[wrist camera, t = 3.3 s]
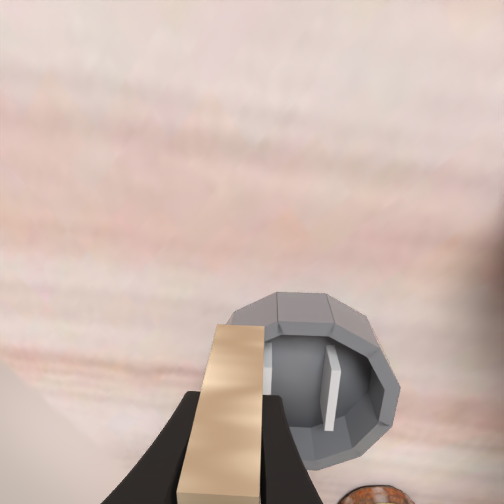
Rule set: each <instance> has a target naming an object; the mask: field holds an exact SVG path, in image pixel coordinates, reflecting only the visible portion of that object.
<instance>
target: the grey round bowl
mask: <svg viewBox="0 0 504 504" xmlns="http://www.w3.org/2000/svg"><path fill="white" fill-rule="evenodd" d="M226 325H246V326H265V327H264V362H263V395H279V396H280V397H281V398H282V402H283V407H284V411H285V415H286V419H287V422H288V425H289V428H290V431H291V434H292V437H293V439H294V442H295V444H296V447H297V450H298V452H299V455H300V457H301V459H302V462H303V464H304V466H305V468H306V470H320V469H323V468H326V467H329V466H333V465H336V464H339V463H342V462H345V461H348V460H351V459H354V458H357V457H360V456H362V455H363V454H364V453H365V452H366V451H367V450H368V449H369V448H370V447H371V446H372V445H373V444H374V443H375V442H377V441H378V440H379V439H380V438H381V437H382V436H383V435H384V434H385V433H386V432H387V431H388V430H389V429H390V428H391V427H392V425H393V420H394V416H395V411H396V406H397V402H398V397H399V393H400V385H399V383H398V381H397V379H396V376H395V374H394V372H393V370H392V368H391V366H390V363H389V361H388V359H387V357H386V355H385V353H384V351H383V349H382V347H381V345H380V343H379V341H378V339H377V337H376V335H375V333H374V331H373V329H372V327H371V325H370V323H369V321H368V319H367V318H366V316H364V315H362V314H361V313H359V312H357V311H355V310H354V309H352V308H350V307H348V306H347V305H345V304H343V303H341V302H340V301H338V300H336V299H334V298H333V297H331V296H329V295H327V294H317V293H287V292H276V293H274V294H272V295H269V296H267V297H265V298H263V299H261V300H259V301H257V302H254V303H252V304H250V305H248V306H246V307H244V308H241V309H239V310H237V311H235V312H234V313H233V315H232V316H231V318H230V319H229V321H228V322H227V324H226ZM205 373H206V372H205ZM204 377H205V376H204Z"/></svg>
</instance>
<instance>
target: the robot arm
mask: <svg viewBox="0 0 504 504" xmlns="http://www.w3.org/2000/svg"><path fill="white" fill-rule="evenodd" d="M200 393H201V392H196V391H188V392H187V393H185V395H184V397H183V399H182V400H181V402H180V404H179V405H178V407H177V409H176V410H175V412H174V413H173V415H172V416H171V418H170V419H169V421H168V422H167V424H166V425H165V427H164V428H163V430H162V431H161V432H160V434H159V435H158V437H157V438H156V439H155V441H154V442H153V444H152V445H151V446H150V448H149V449H148V450H147V451H146V453H145V454H144V455H143V456H142V458H141V459H140V460H139V461H138V463H137V464H136V465H135V466H134V468H133V469H132V470H131V471H130V472H129V474H128V475H127V476H126V477H125V478H124V479H123V481H122V482H121V483H120V484H119V485H118V486H117V487H116V488H115V490H113V492H112V493H111V494H110V495H109V496H108V497H107V498H106V499H105V500H104V501H103V502H102V503H101V504H178V502H177V493H176V492H177V488H178V484H179V479H180V475H181V471H182V467H183V463H184V459H185V455H186V451H187V447H188V442H189V438H190V434H191V430H192V426H193V422H194V418H195V414H196V410H197V405H198V401H199V397H200ZM260 496H261V504H323V502H322V501H321V499H320V497H319V495H318V493H317V491H316V489H315V487H314V485H313V483H312V481H311V479H310V477H309V475H308V473H307V470H306V468H305V466H304V464H303V462H302V459H301V457H300V455H299V452H298V450H297V447H296V444H295V442H294V439H293V437H292V434H291V431H290V428H289V425H288V422H287V419H286V415H285V411H284V407H283V402H282V398H281V397H280V396H279V395H262V427H261V462H260Z"/></svg>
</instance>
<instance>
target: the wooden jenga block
mask: <svg viewBox="0 0 504 504" xmlns="http://www.w3.org/2000/svg"><path fill="white" fill-rule="evenodd" d="M264 327H265V326H246V325H219V324H217V327H216V331H215V336H214V340H213V344H212V348H211V352H210V356H209V360H208V364H207V368H206V373H205V377H204V381H203V385H202V389H201V393H200V397H199V401H198V405H197V410H196V414H195V418H194V422H193V426H192V430H191V434H190V438H189V442H188V447H187V451H186V455H185V459H184V463H183V467H182V471H181V475H180V479H179V484H178V488H177V492H176V493H177V502H178V504H259V497H260V462H261V427H262V395H263V362H264Z"/></svg>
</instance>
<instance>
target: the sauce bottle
mask: <svg viewBox="0 0 504 504" xmlns="http://www.w3.org/2000/svg"><path fill="white" fill-rule="evenodd" d="M341 504H415V503H414V502H413V501H412V500H411V499H410V498H409V497H408V495H406V494H405V493H403V492H402V491H401V490H398V489H396V488H394V487H392V486H376V487H363V488H360V489H358V490H356V491H353V492H351V493H350V494H349V495H348V496H347V497H345V498H344V499H343V500H342V501H341Z"/></svg>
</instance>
